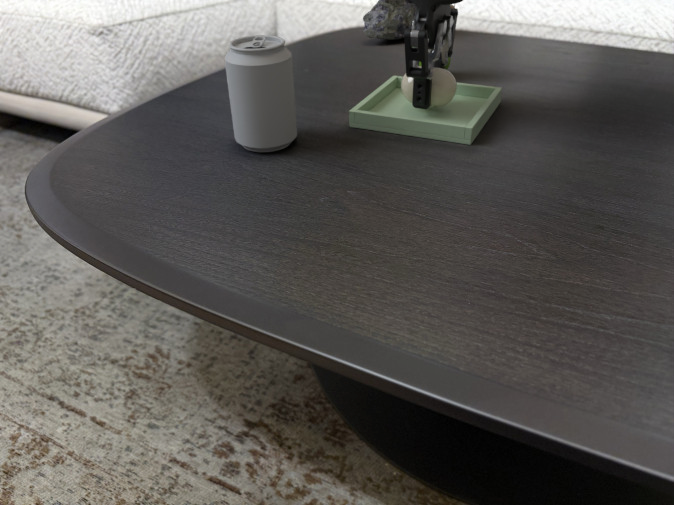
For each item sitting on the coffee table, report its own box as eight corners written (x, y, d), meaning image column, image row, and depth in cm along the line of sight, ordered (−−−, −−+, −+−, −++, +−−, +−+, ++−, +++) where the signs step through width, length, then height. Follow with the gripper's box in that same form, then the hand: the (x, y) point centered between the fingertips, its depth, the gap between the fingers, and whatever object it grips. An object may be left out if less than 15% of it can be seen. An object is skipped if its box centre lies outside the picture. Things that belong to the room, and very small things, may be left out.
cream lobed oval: (459, 102, 79) (462, 65, 76) (449, 114, 75) (452, 76, 73) (407, 95, 81) (409, 59, 79) (395, 107, 78) (396, 70, 75)
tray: (500, 102, 82) (502, 87, 81) (470, 145, 70) (472, 128, 69) (393, 89, 88) (393, 75, 87) (349, 126, 76) (348, 110, 75)
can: (228, 154, 70) (213, 49, 63) (244, 129, 76) (233, 31, 70) (291, 156, 69) (282, 49, 62) (303, 131, 75) (296, 32, 69)
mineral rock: (363, 46, 108) (363, -14, 103) (360, 32, 117) (359, -24, 112) (435, 44, 108) (438, -17, 103) (426, 29, 117) (429, -27, 112)
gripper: (450, -34, 62) (439, 124, 71) (484, -52, 73) (470, 87, 82) (382, -37, 65) (380, 115, 74) (425, -53, 75) (418, 81, 85)
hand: (428, 100), depth 78 cm, fingers closed on cream lobed oval, 4 cm apart
